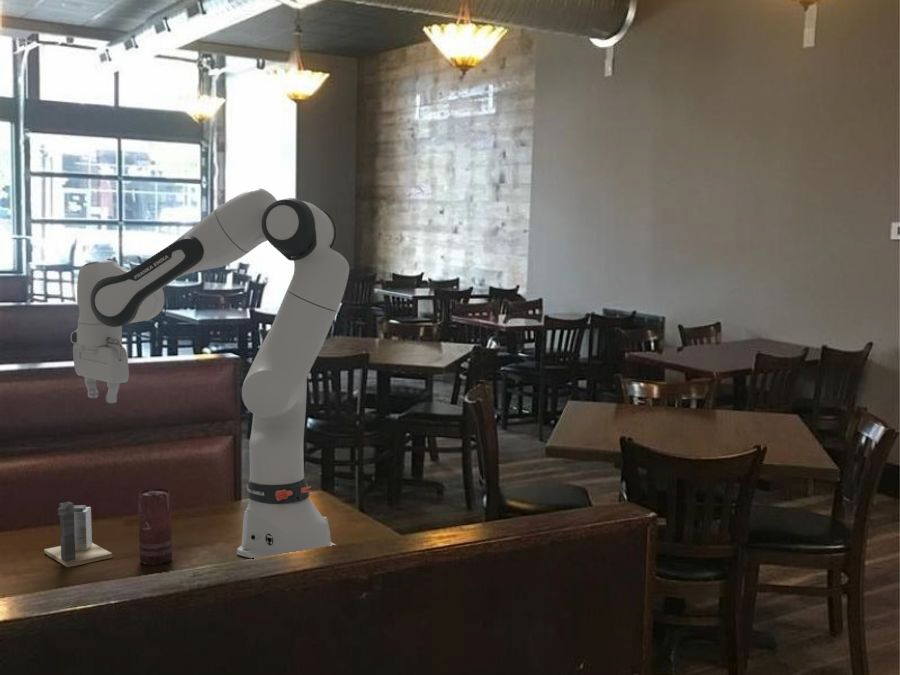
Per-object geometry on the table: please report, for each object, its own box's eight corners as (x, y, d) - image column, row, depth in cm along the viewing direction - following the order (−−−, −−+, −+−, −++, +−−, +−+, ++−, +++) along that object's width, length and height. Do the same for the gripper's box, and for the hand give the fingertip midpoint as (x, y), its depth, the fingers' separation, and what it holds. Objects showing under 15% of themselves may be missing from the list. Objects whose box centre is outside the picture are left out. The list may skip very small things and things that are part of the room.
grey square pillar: (92, 544, 197) (90, 503, 196) (86, 550, 193) (85, 509, 192) (71, 545, 196) (70, 504, 196) (66, 551, 192) (64, 509, 192)
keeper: (115, 558, 190) (113, 499, 189) (61, 570, 183) (59, 509, 182) (88, 544, 200) (86, 487, 199) (35, 554, 193) (33, 496, 192)
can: (163, 566, 186) (162, 496, 184) (134, 564, 187) (132, 494, 186) (178, 557, 192) (177, 488, 190) (149, 555, 193) (148, 487, 192)
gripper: (135, 338, 200) (137, 404, 201) (95, 332, 214) (97, 393, 216) (106, 340, 195) (108, 407, 196) (67, 334, 210) (69, 396, 211)
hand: (102, 400), depth 206 cm, fingers open, 8 cm apart
